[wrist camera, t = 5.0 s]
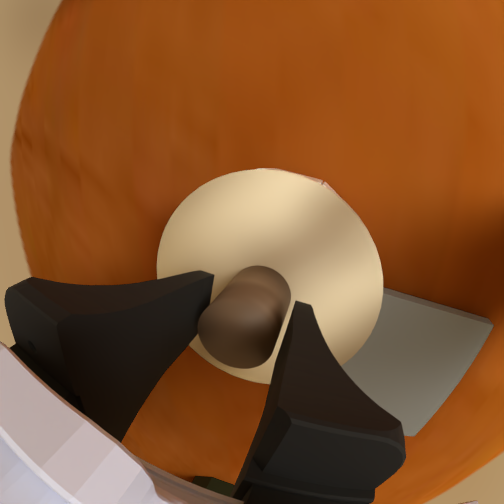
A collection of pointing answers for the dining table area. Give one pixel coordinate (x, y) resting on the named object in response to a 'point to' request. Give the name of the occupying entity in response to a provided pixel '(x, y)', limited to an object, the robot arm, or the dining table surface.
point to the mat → (416, 356)
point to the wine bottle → (214, 485)
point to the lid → (273, 267)
